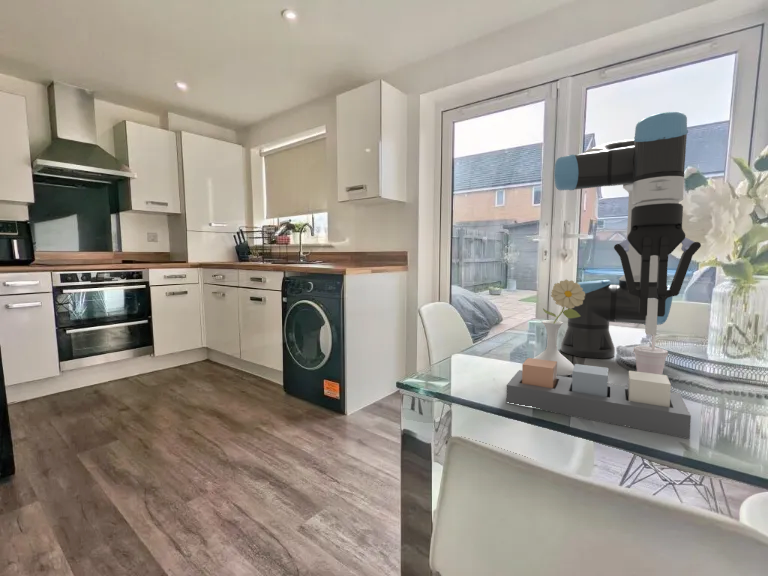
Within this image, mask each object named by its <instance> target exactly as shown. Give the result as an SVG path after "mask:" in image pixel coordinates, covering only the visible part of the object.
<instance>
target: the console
mask: <svg viewBox="0 0 768 576" xmlns="http://www.w3.org/2000/svg"><path fill="white" fill-rule="evenodd" d="M505 395H506V396H505V397H506V402H509V403H514V404H519V405H525V406H532V407H536V408H540V409H542V410H541V411H543V410H547V411H546V412H548V411H552V412H551V413H553V412H556V413H555V414H559V413H562V414H561V415H564V414H566V415H565V416H569V415H570V416H569V417H574V416H575V418H579V417H580V419H585V420H589V421H590V420H591V421H596V422H600V421H601V423H605V422H606V424H610V423H611V425H616V424H618V425H617V426H621V425H626V426H630V427H629V428H631V427H634V428H633V429H636V428H638V429H637V430H641V429H642V430H641V431H648V432H653V433H659V434H662V435H667V436H673V437H679V438H684V439H689V440H690V437H691V422H692V421H691V420H692V415H691V413H690V411H689V409H688V407H687V405H686V403H685V401H684V399H683V397H682V395H681V393H680V392H679V393H678V392H673V391H670V407H664V406H658V405H652V404H646V403H639V402H633V401H628V385H624V384H617V383H611V382H608V386H607V397H602V396H596V395H590V394H584V393H578V392H572V377H570V376H569V377H568V376H557V383H556V386H555V388H554V389H553V388H547V387H541V386H534V385H528V384H522V370H521V369H520V370H517V372H516V373H515V374H514V375H513V377H512V378H511V379H510V380H509V381H508V382H507V384H506V394H505ZM626 426H625V427H626Z"/></svg>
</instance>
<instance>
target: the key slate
mask: <svg viewBox="0 0 768 576" xmlns="http://www.w3.org/2000/svg"><path fill="white" fill-rule="evenodd" d="M571 375H572V377H571V378H572V392H578V393H584V394H590V395H596V396H602V397H607V386H608V383H609V382H608V381H609V380H608V379H609V368H608V367H604V366H595V365H586V364H580V363H575V364H574V368H573V373H572V374H571Z"/></svg>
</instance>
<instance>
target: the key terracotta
mask: <svg viewBox="0 0 768 576" xmlns="http://www.w3.org/2000/svg"><path fill="white" fill-rule="evenodd" d="M533 358H534V357H531V358H530V357H527V358H526V359H525V361H523V363H522V384H528V385H534V386H541V387H547V388H553V389H554V388H555V386H556V383H557V361H549V360H541V359H533Z"/></svg>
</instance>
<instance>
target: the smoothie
mask: <svg viewBox="0 0 768 576" xmlns="http://www.w3.org/2000/svg"><path fill="white" fill-rule="evenodd" d="M651 338H652V339H651V346H647V345H645V346H644V345H638V346H634V347H633V351H632V352H633V353H634V354H635V355H634V356H635V366H636V371H637V372H644V373H652V374H660V375H664V372H663V371H664V369H665V364H666V359H667V357H668V356H669V351H668V350H666V349H665V348H660V347H657V346H656V335H652V336H651Z"/></svg>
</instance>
